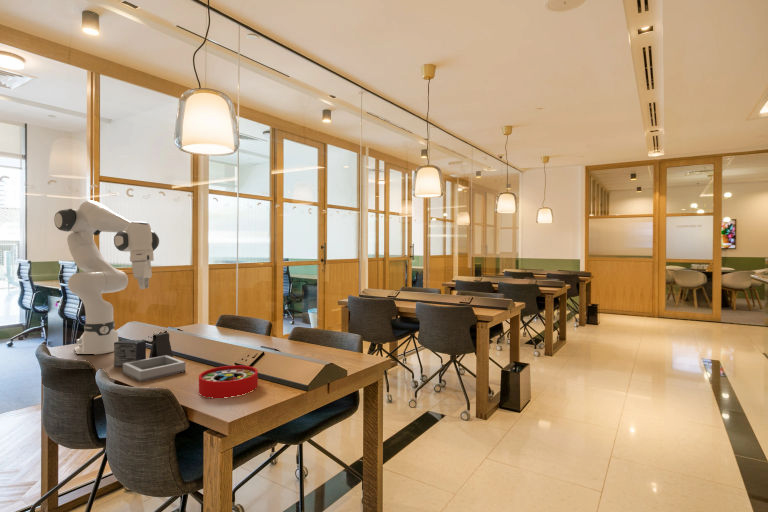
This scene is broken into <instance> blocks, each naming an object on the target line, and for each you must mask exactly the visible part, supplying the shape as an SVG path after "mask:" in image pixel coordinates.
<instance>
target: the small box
mask: <svg viewBox="0 0 768 512" xmlns="http://www.w3.org/2000/svg"><path fill="white" fill-rule="evenodd" d="M146 350H147V340H143V339H141V340H140V339H122V340H118V342H114V351H113V352H114V355H113V356H114V359H113V360H114V361H113V362H114V363H113V367H115V368H123V363H128V362H133V361H138V360H143V359H147V351H146Z"/></svg>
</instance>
